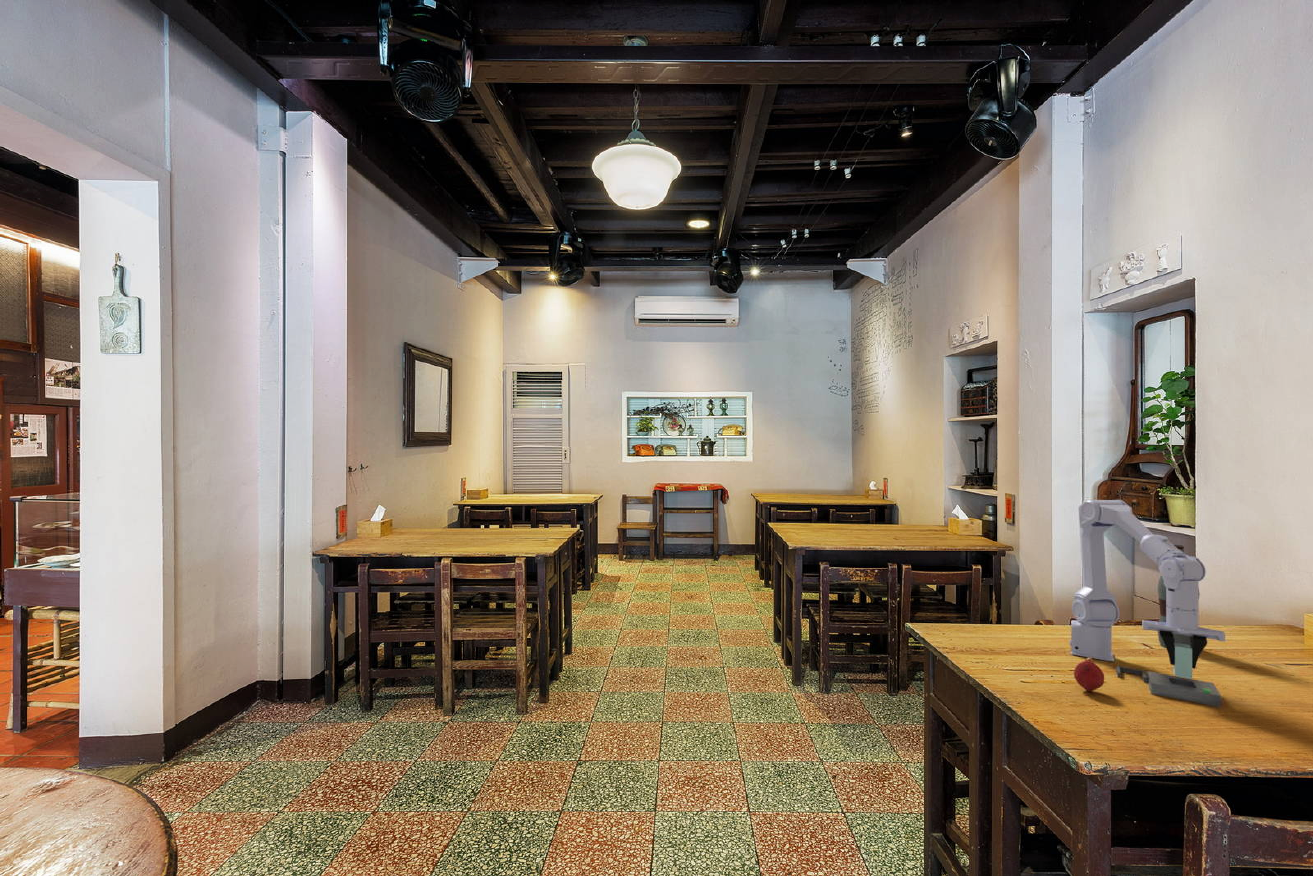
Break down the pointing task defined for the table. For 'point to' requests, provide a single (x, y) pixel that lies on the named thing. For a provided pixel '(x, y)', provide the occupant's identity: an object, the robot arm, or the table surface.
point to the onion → (1089, 675)
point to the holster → (1131, 672)
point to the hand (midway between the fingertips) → (1182, 665)
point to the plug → (1183, 660)
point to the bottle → (1162, 603)
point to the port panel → (1184, 689)
